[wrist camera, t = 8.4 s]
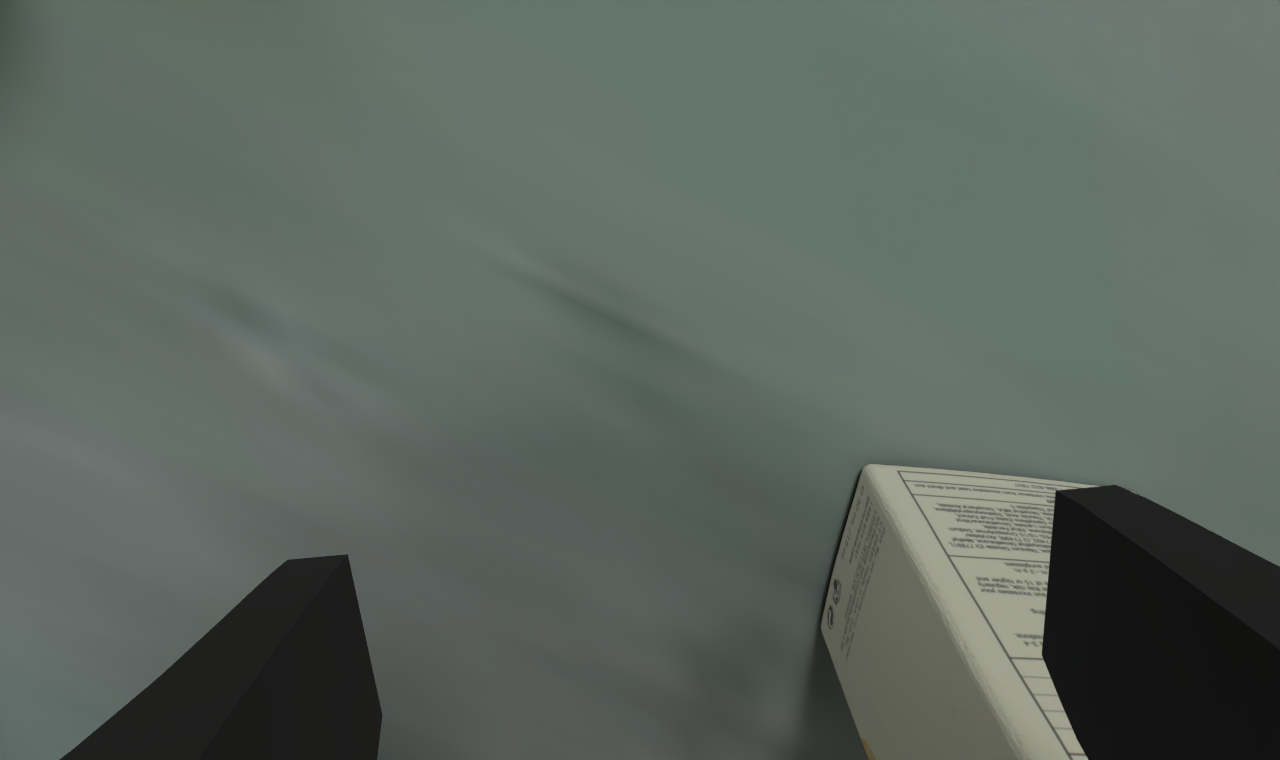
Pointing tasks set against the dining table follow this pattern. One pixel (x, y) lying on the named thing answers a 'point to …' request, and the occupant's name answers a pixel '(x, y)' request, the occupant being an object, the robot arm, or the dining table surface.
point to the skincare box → (947, 616)
